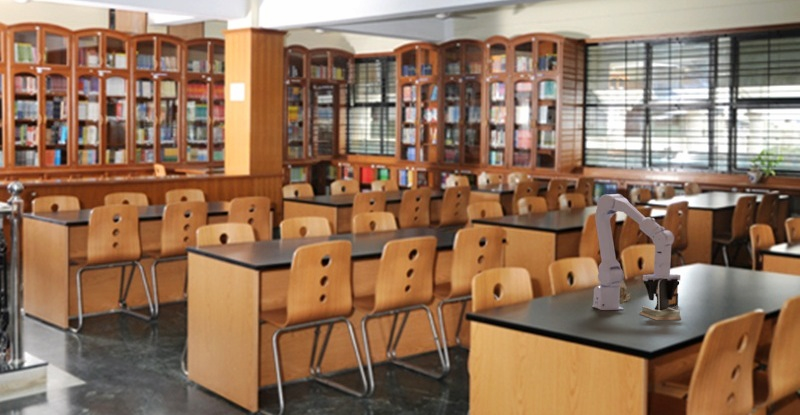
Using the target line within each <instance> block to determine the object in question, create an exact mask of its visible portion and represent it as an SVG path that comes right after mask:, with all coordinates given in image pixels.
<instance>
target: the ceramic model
mask: <svg viewBox="0 0 800 415" xmlns="http://www.w3.org/2000/svg"><path fill="white" fill-rule="evenodd" d="M627 289H628V287H627V285H626V283H625V282H624V280H622V282H621V283H620V299H619V304H620V303H621V304H622V303H626V302H629V301H630V299H631V297H632V296H631V293H630V292H627Z"/></svg>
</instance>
